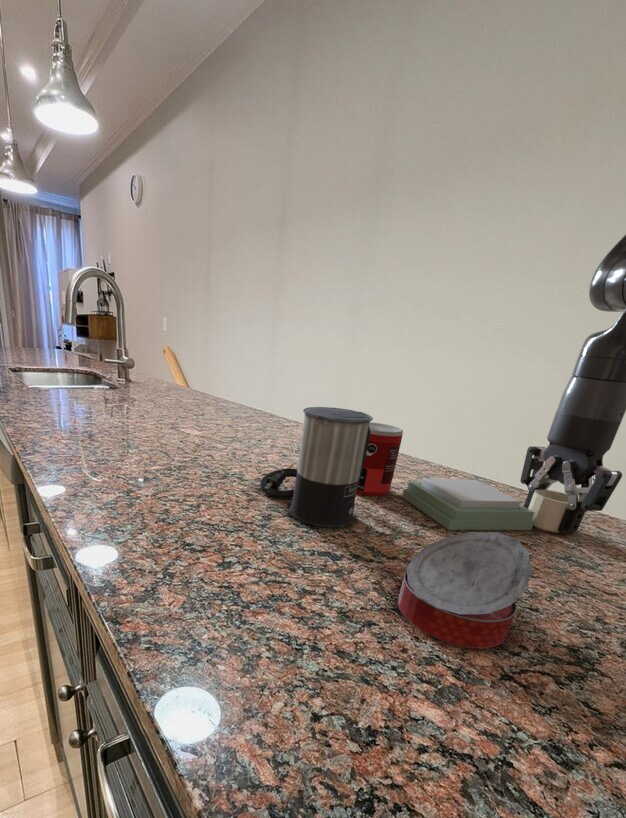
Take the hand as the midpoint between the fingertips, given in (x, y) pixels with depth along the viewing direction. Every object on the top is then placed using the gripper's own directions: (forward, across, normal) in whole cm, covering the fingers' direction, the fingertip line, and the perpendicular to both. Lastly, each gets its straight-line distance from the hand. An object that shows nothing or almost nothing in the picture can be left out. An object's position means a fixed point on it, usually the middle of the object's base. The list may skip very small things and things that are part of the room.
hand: (546, 522), depth 68 cm
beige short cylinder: (+1, 0, 0) cm, 1 cm away
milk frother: (+1, +7, +37) cm, 38 cm away
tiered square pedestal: (-2, +5, +11) cm, 12 cm away
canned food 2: (+1, -21, +31) cm, 37 cm away
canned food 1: (+1, +15, +23) cm, 27 cm away
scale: (+1, +5, +11) cm, 12 cm away
